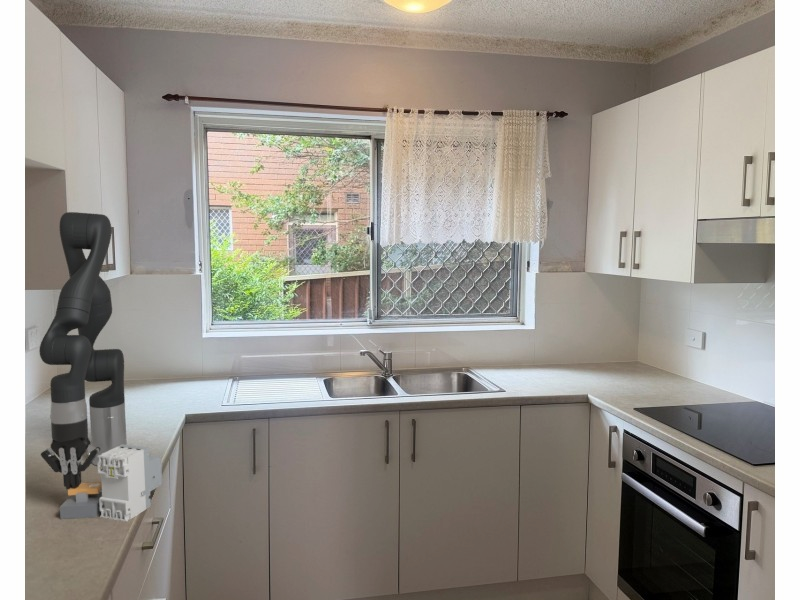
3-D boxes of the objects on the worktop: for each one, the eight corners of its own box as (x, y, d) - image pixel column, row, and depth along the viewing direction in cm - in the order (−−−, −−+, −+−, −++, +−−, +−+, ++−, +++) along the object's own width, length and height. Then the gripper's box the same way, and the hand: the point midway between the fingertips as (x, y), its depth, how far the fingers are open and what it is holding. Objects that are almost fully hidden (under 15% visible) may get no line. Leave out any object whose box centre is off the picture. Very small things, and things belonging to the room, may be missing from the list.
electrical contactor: (167, 495, 146) (165, 438, 145) (126, 521, 133) (123, 459, 131) (142, 491, 148) (140, 435, 147) (100, 517, 135) (97, 456, 133)
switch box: (79, 499, 143) (78, 480, 143) (112, 498, 144) (111, 479, 144) (60, 519, 134) (59, 498, 133) (96, 517, 135) (95, 496, 134)
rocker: (75, 490, 140) (75, 482, 140) (104, 488, 141) (104, 481, 141) (68, 497, 136) (67, 490, 136) (98, 495, 137) (97, 488, 137)
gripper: (105, 412, 141) (108, 480, 143) (46, 413, 139) (50, 482, 141) (92, 421, 133) (95, 493, 135) (31, 423, 132) (35, 495, 133)
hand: (72, 487), depth 138 cm, fingers closed
